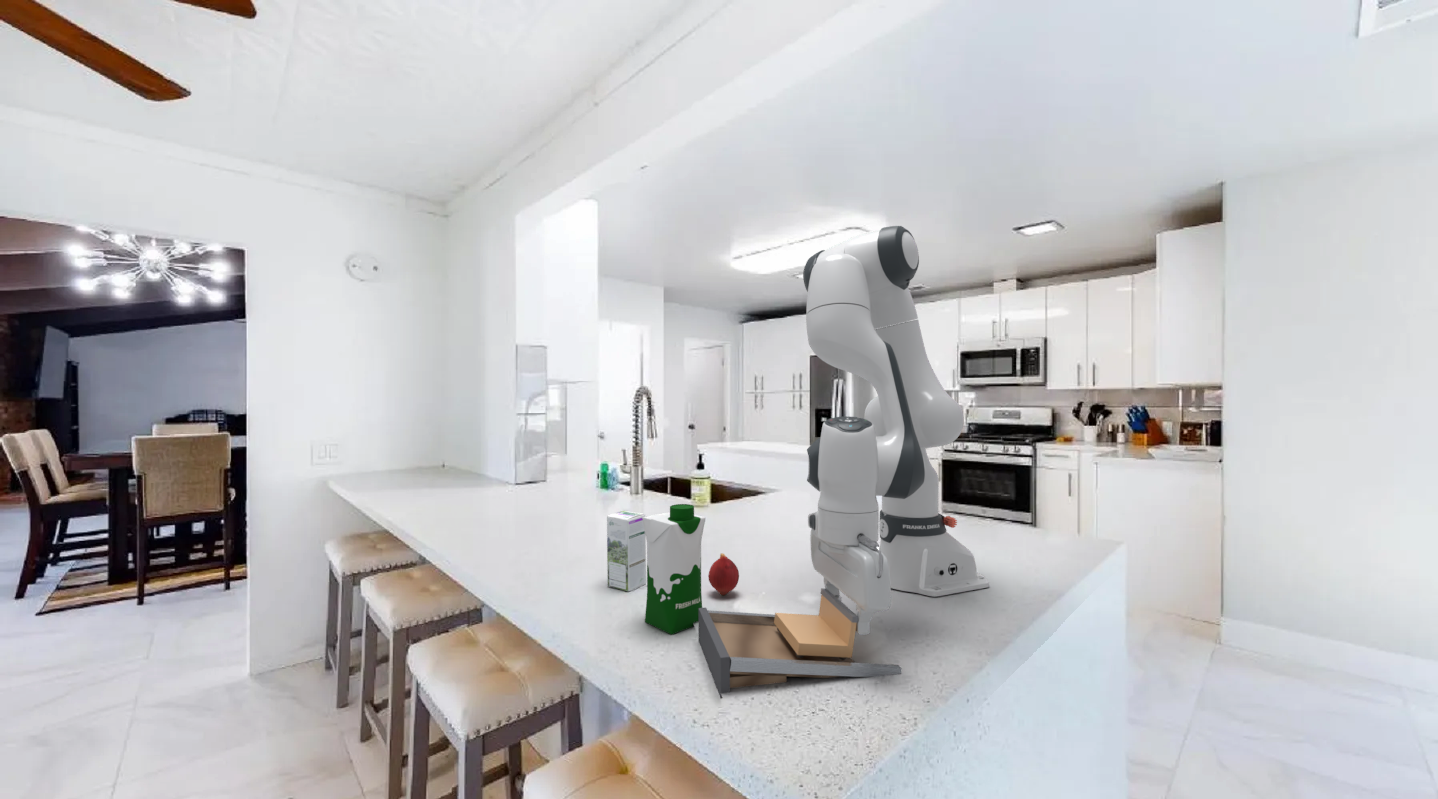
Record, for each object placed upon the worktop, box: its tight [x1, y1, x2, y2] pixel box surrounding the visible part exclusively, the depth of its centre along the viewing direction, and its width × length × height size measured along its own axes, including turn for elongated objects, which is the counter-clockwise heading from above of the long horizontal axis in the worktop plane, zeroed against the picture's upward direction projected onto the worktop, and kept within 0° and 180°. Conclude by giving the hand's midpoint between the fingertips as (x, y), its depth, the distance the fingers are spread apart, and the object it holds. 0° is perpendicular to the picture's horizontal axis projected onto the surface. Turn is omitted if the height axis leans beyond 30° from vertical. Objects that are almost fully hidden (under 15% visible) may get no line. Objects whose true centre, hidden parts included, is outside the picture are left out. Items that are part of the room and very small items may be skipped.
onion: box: [708, 553, 740, 596], centre depth 110 cm, size 6×6×8 cm
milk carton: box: [642, 503, 706, 636], centre depth 97 cm, size 9×9×20 cm
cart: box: [774, 587, 858, 660], centre depth 84 cm, size 9×12×7 cm
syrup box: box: [606, 510, 647, 592], centre depth 115 cm, size 6×6×14 cm
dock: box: [697, 607, 902, 699], centre depth 84 cm, size 25×17×6 cm
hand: (847, 619), depth 85 cm, fingers open, 8 cm apart
